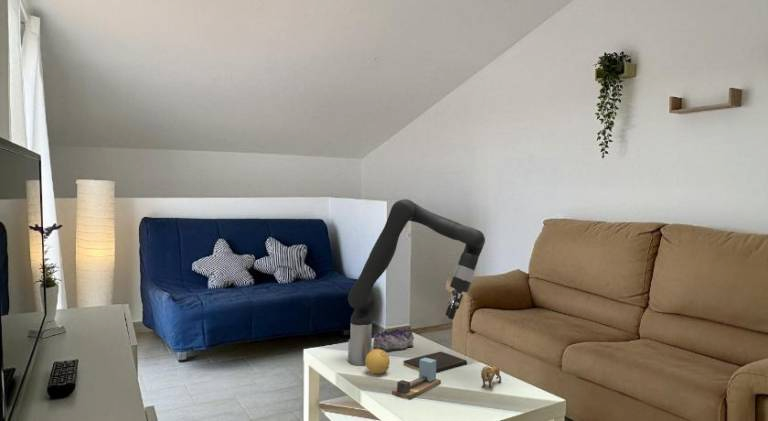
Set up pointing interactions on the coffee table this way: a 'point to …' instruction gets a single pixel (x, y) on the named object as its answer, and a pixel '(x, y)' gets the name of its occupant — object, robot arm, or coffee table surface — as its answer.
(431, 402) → the coffee table surface
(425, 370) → the pale blue squarish block
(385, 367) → the stress ball
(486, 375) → the lion figurine
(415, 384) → the rail
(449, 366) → the hardcover book
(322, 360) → the coffee table surface
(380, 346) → the geode
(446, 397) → the coffee table surface
